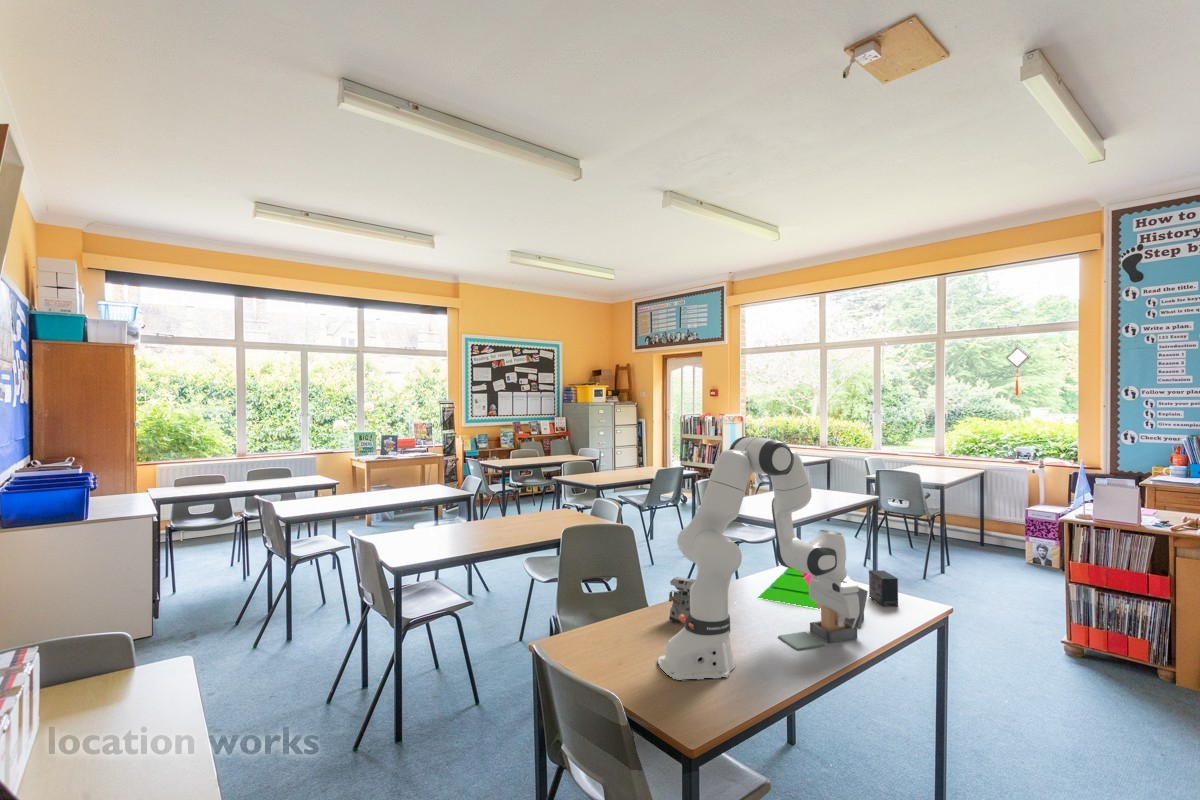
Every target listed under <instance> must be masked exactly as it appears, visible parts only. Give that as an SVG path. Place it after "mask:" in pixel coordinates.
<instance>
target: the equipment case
mask: <svg viewBox="0 0 1200 800" xmlns="http://www.w3.org/2000/svg"><path fill="white" fill-rule="evenodd" d="M858 588H859V591H858V592H855V593H856V594H857V595H858V598H859V616H858V617H857V618H852V619H848V618H845V629H842V630H836V631H830V632H829V631H827V630H825V629H823V628H822V627H821V620H819V621H811V622H809V632H810V633H812V634H813V635H815V636H816V637H818V638H820V639H822V640H824V642H826V641H827V643H835V642H834V641H837V642H841V640H843V641H847V640H848V639H849V640H853V639H858V630H859V631H860V630H861V629H862V624H863V620H862V619H863V614H864V615H865V609H866V602H867V598H868V593H869V590H867V589H865V588H862V587H860V586H858Z"/></svg>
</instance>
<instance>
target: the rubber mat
mask: <svg viewBox="0 0 1200 800" xmlns="http://www.w3.org/2000/svg"><path fill="white" fill-rule="evenodd" d="M777 637H778V639H779V640H781V641H783V642H784V643H786V644H787V645H789V646H791V648H793V649H794V650H796V651H802V650H808V649H813V648H814V649H815V648H821V647H825V646H826V644H825V643H824V642H823V641H821V640H820V639H818V638H816V637H815V636H813V635H811V634H809V633H808V632H807V631H800V632H793V633H788V634H787V633H786V634H781V635H780V634H779V635H778V636H777Z"/></svg>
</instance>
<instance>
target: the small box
mask: <svg viewBox="0 0 1200 800" xmlns="http://www.w3.org/2000/svg"><path fill="white" fill-rule="evenodd" d="M868 579H869V580H868V585H869V586H868V593H869V594H868V597H869V598H870V597H871V598H872V600H873V601H874V600H875V601H876V602H875V601H874V602H875V603H876V604H878V605H880V606H881V607H899V585H898V584H899V578H898V577H896V576H894V575H893V574H891V573H890V572H888V571H885V570H876V569H875V570H872V569H870V570H868ZM871 598H870V599H871Z"/></svg>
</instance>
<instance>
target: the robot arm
mask: <svg viewBox="0 0 1200 800" xmlns="http://www.w3.org/2000/svg"><path fill="white" fill-rule="evenodd" d="M754 473H755V474H758V475H768V476H769V477H770V481H771V485H772V489H773V493H774V497H773V498H772V501H771V513H772V520H773V527H774V534H775V542H776V543H775V555H776V558H777V561H778V562H779V564H780V565H781V566H782V567H785V568H786V569H788V568H792V569H796V570H799V571H802V572H805V573H808V574H811V580H810V584H809V597H810V599H811V600H813V601H815V602H817V603H819V604H820V608H821V606H825V607H827V608H829V609H831V610H833V611H835V612H837V613H838V616H839V618H838V620H836V625H837V626H839V627H843V625H844V624H843V621H844V619H845V618H848V619H852V618H857V617H858V616H859V598H858V595H857V594H856V593H855V592H858V591H859V588H858V587H859V585H858V584H857V583H855V581H853V580H852V579H851V577H849V576H848V575H847V567H846V562H847V550H846V549H847V547H846V541H845V538H844V537H845V536H844V535H843V534H842V533H841V532H838V531H835V530H830V529H820V530H819V531H818V533H817V536H816V537H815V538H814V539H812V540H810V541H806V540H801V539H800V538H798V537H797V535H796V534H795V531H794V524H793V518H792V515H793V514H792V513H795V512H798V511H800V510H801V509H803V508H805V507H806V506H808V504H809V503H810V501H811V499H812V488H811V487H812V486H811V483H810V479H809V477H808V473H807V471H806V468H805V465H804V463H803V461H802V458H801V457H800V455H799V453H798V452H797V451H795V450H793V449H791V448H790V447H789V446H788V445H787V444H786V443H784V442H782V441H780V440H777V439H771V438H766V437H763V436H750V435H749V436H741V437H739V438H736V439H735V440H734V441H733V443H732V444H731V445H730V447H729V449H726V450H724V451H722V452H720V454H719V456H718V458H717V459H716V462H715V464H714V465H713V468H712V469H711V473H710V475H709V479H708V481H707V485H706V488H705V491H704V494H703V497H702V500H701V503H700V505H699V508H698V509H697V511H696V513H695V514H694V515H693V518H692V520H691V521H690V523H689V524H687V526H685V527H683V529H681V530H680V532H679V534H678V535H677V540H676V541H677V542H676V543H677V547H678V550H679V551H680V553H681V554H682V555H683V556H684V557H685V558H686V559H687V560H688V561H690V562H692V563H694V564H696V568H697V573H696V577H695V579H694V580H695V582H694V583H693V584H692V585H691V587H690V613H689V615H688V617H686V616H684V615H683V614H680V615H679V620H680V623H682V624H684V626H683V628H681V629H680V630H679V632H677V633H676V634H675V635H674V636H672V638H670V639H669V640H668V641H667V642H666V643H667V644H666V646H665V652H664V653H665V654H664V655H661V656H659V657H658V659H657V665H658V664H659V666H660V667H659V666H658V667H659V669H660V668H661V669H662V670H663V671H664V672H665V673H666V674H667V675H669V676H670V677H672V678H674V679H678V680H681V679H697V680H705V679H704V678H713V679H722V678H721V677H726V678H728V676H729V677H730V673H731V672H732V671H733V669H734V668H735V667H736V662H735V658H734V654H733V650H732V645H731V643H732V642H731V638H730V637H731V635H730V634H731V617H730V616H731V615H730V613H729V589H730V584H731V579H732V576H733V574H734V573H736V571H737V570H738V569H739V568H740V566H741V563H742V560H743V557H742V550H741V549H740V546H738V545H737V543H735V542H734V541H733V539H731V538H730V537H728V536H727V535H724V532H725V530H726V529H727V527H728V526H729V524H730V523H731V522H732V521H735V520H736V519H737V518H738V516H739V514H740V510H741V506H742V504H743V500H744V497H745V493H746V490H747V486H748V481H749V478H750V476H752V474H754ZM661 669H660V670H661ZM662 670H661V671H662ZM663 671H662V672H663ZM664 672H663V673H664ZM665 673H664V674H665ZM666 674H665V675H666ZM667 675H666V676H667ZM670 677H669V678H670ZM672 678H671V679H672ZM674 679H673V680H674Z"/></svg>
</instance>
